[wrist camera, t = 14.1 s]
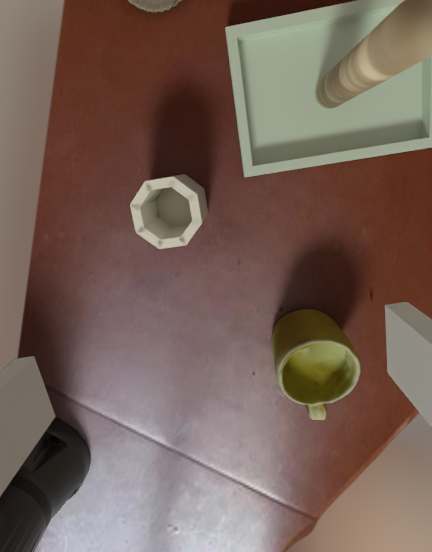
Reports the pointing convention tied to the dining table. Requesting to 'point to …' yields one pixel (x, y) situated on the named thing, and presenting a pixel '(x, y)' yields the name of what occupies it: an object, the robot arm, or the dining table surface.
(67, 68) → the dining table surface
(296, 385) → the mug
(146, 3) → the seashell
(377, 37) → the dowel
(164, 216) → the crock
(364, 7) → the tray
